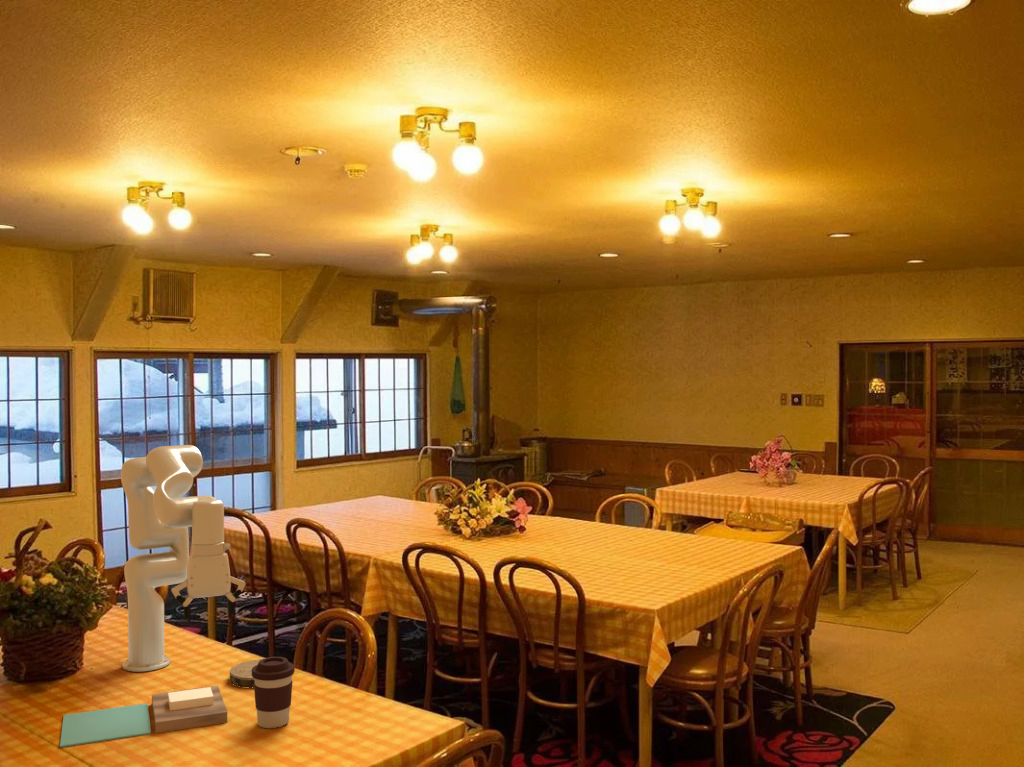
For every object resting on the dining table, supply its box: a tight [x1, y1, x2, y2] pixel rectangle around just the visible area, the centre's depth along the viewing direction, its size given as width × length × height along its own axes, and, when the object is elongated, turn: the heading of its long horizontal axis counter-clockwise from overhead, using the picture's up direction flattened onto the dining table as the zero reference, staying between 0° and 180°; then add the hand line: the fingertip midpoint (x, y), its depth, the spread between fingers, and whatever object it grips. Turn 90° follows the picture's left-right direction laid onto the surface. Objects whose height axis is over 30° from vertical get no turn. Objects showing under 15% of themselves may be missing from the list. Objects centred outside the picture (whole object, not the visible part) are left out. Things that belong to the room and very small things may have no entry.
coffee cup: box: [252, 656, 296, 729], centre depth 218 cm, size 10×10×15 cm
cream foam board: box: [168, 686, 214, 711], centre depth 224 cm, size 7×10×2 cm
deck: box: [151, 684, 228, 734], centre depth 224 cm, size 20×16×2 cm
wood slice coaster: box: [229, 658, 263, 689], centre depth 250 cm, size 16×16×3 cm
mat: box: [59, 702, 152, 748], centre depth 217 cm, size 20×19×1 cm
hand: (209, 619), depth 225 cm, fingers open, 9 cm apart
